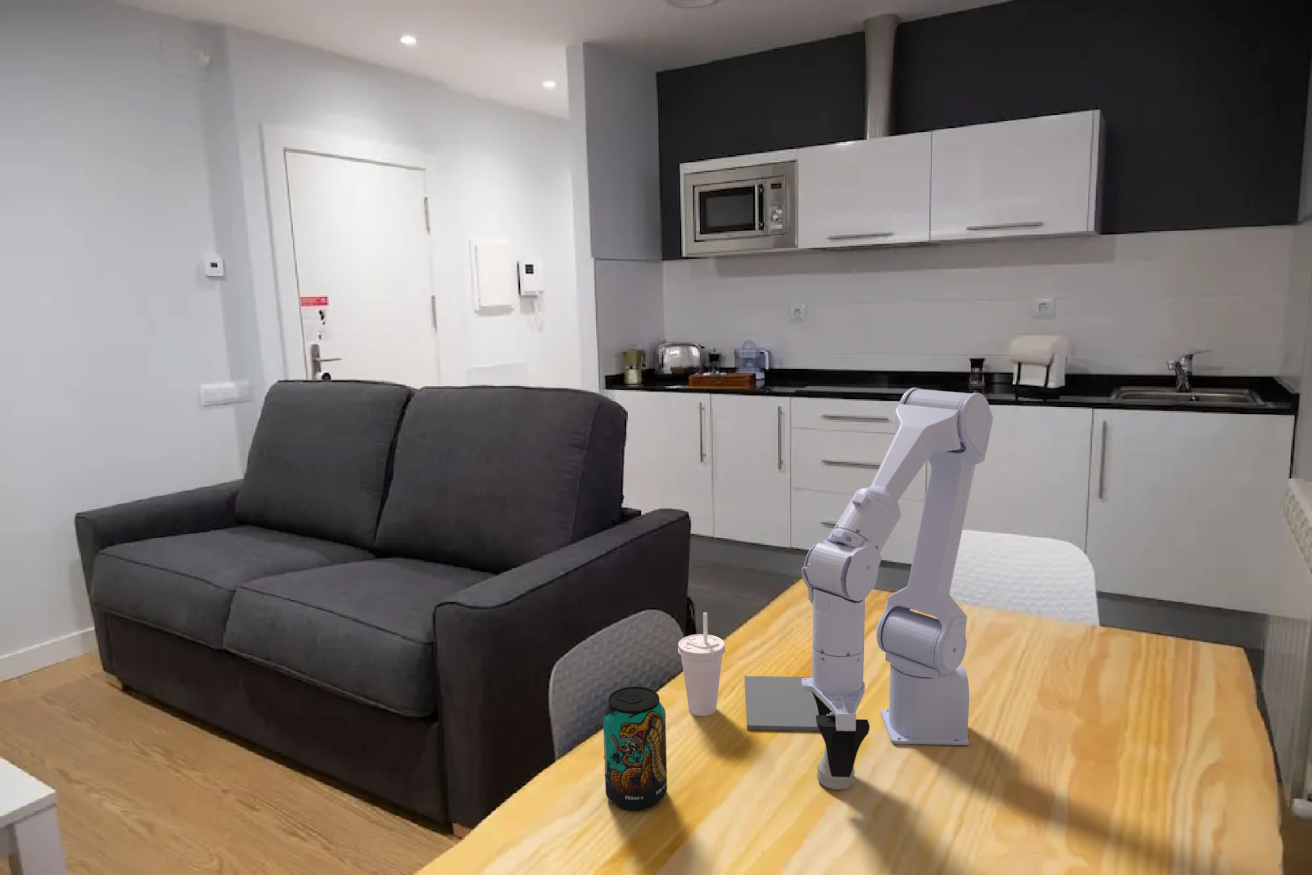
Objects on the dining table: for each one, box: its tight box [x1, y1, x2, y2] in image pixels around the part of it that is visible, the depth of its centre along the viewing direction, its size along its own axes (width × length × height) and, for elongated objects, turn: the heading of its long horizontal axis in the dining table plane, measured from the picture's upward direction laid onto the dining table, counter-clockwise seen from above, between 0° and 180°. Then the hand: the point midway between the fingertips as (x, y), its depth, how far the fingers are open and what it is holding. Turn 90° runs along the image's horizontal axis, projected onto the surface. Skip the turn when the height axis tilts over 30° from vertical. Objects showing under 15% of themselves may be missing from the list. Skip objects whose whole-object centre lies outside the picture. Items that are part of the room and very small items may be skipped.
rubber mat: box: [744, 675, 820, 732], centre depth 114 cm, size 14×14×1 cm
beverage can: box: [602, 686, 668, 812], centre depth 94 cm, size 7×7×12 cm
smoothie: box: [677, 612, 726, 717], centre depth 112 cm, size 6×6×14 cm
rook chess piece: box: [816, 712, 856, 791], centre depth 96 cm, size 4×4×8 cm
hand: (836, 756), depth 96 cm, fingers open, 7 cm apart
